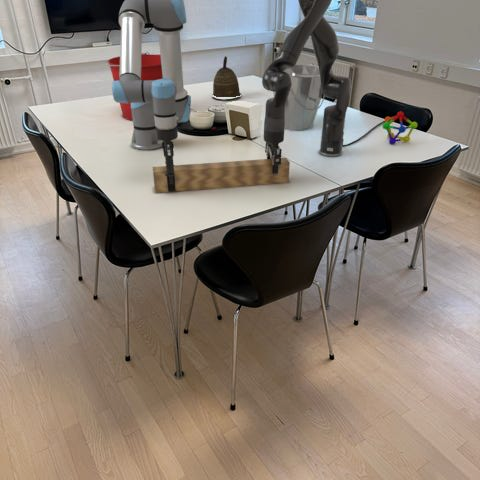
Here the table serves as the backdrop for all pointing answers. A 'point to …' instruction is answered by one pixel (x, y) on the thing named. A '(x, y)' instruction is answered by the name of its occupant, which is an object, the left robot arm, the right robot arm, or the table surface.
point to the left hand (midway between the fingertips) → (171, 187)
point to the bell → (225, 82)
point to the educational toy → (398, 128)
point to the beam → (221, 175)
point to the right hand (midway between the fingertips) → (272, 169)
